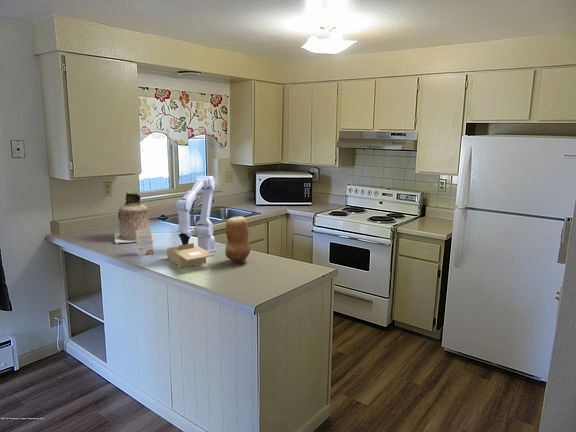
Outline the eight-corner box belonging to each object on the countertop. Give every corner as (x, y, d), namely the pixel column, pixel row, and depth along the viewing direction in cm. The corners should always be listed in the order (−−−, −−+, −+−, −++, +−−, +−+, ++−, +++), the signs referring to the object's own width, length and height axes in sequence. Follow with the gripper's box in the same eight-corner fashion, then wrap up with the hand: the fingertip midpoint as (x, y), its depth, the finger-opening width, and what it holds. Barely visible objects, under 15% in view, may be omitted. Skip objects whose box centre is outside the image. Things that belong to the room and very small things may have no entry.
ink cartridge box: (153, 252, 248) (152, 227, 245) (153, 254, 243) (151, 229, 240) (138, 253, 245) (136, 228, 242) (137, 255, 241) (135, 230, 238)
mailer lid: (197, 246, 235) (197, 241, 235) (213, 255, 219) (213, 250, 218) (171, 251, 227) (171, 245, 226) (186, 260, 211) (186, 254, 210)
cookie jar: (156, 241, 271) (153, 191, 265) (114, 245, 262) (110, 193, 256) (152, 232, 294) (150, 186, 287) (114, 235, 285) (110, 188, 279)
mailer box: (191, 254, 243) (190, 244, 242) (206, 263, 227) (205, 252, 226) (167, 258, 235) (166, 248, 234) (181, 268, 219) (180, 256, 218)
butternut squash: (223, 259, 233) (222, 215, 228) (247, 257, 238) (246, 213, 233) (229, 267, 221) (227, 220, 216) (254, 264, 225) (253, 218, 220)
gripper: (172, 220, 231) (173, 244, 234) (182, 225, 220) (183, 251, 222) (184, 219, 235) (185, 243, 238) (195, 223, 224) (195, 248, 226)
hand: (185, 246), depth 230 cm, fingers closed
